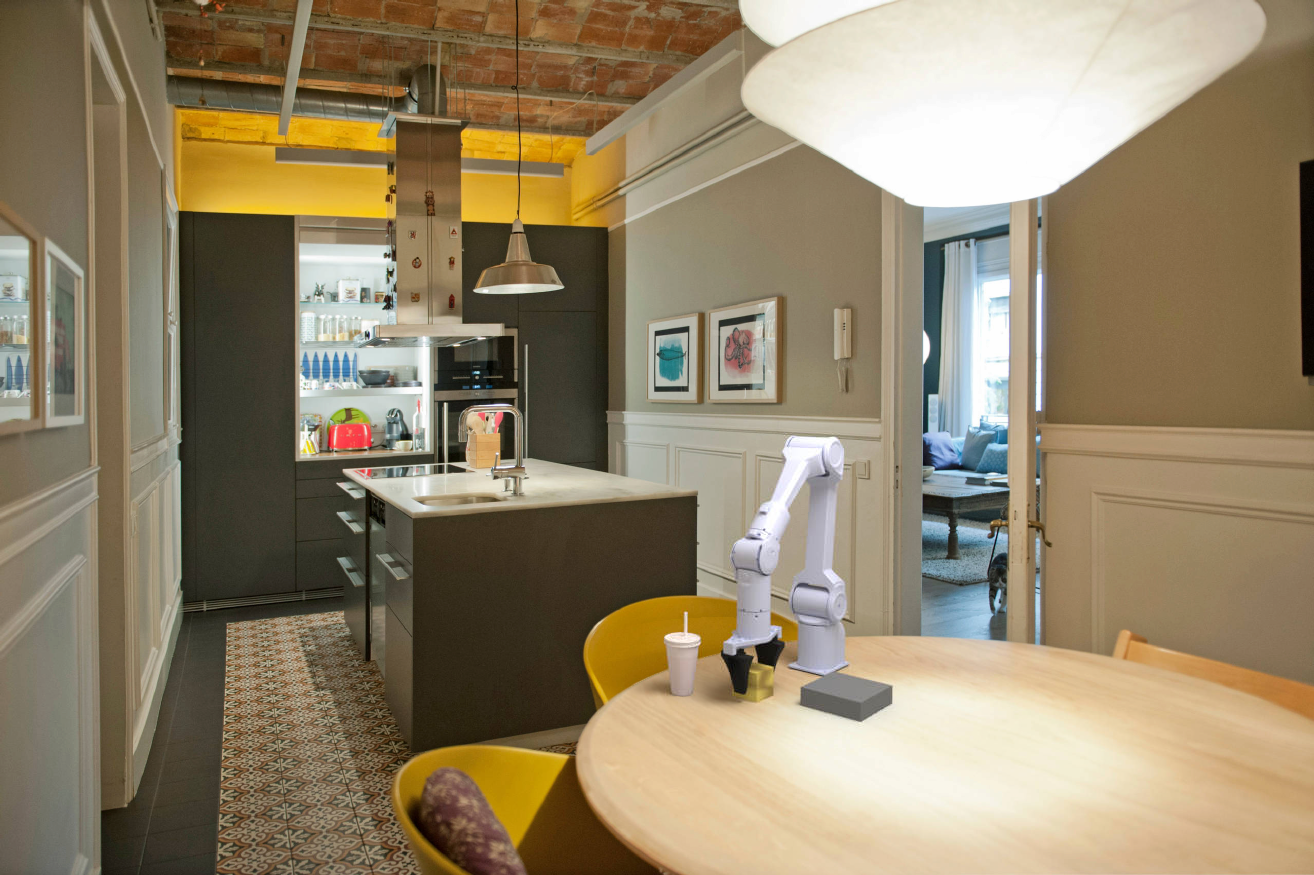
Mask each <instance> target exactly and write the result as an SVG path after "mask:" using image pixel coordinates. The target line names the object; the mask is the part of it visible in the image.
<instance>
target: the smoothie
mask: <svg viewBox="0 0 1314 875" xmlns="http://www.w3.org/2000/svg"><path fill="white" fill-rule="evenodd" d="M663 639H664V640H663V643H664V644H665V647H666V648H665V649H666V657H667V664H668V665H667V666H668V675H669V682H670V690H671V691H670V692H671V694H672V695H674V696H678V697H688V696H691V695H692V694H693V693H694V686H695V677H696V670H697V665H698V664H697V662H698V655H699V646H700V645H701V643H702V641H701V636H700V635H698V634H695V633H691V632H688V612H687V611H684V612H683V632H680V631H679V632H671V633H668V634H666V635H664V638H663Z"/></svg>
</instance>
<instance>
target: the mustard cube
mask: <svg viewBox="0 0 1314 875" xmlns="http://www.w3.org/2000/svg"><path fill="white" fill-rule="evenodd" d="M774 675H775V671H774V667H772V666H768V665H763V664H759V663H758V662H755V661H752V663H751V666H750V670H749V675H748V687H747V692H746V694H744V695H742V694H739V693H735V692H734V689H733V688H732V697H734V698H737V699H741V700H744V701H748V702H751V703H756V704H758V703H760V702H762V701H764V700H766V699H768V698H771V697H773V696H774V685H775V683H774V677H775V676H774Z"/></svg>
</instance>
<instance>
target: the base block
mask: <svg viewBox="0 0 1314 875" xmlns="http://www.w3.org/2000/svg"><path fill="white" fill-rule="evenodd" d="M799 698H800V704H799V705H800V706H802V707H805V708H808V709H812V710H817V711H819V712H823V713H827V714H831V715H835V716H837V717H842V718H845V719H847V720H848V719H849V720H851V721H856V722H858V723H859V722H860V723H862V722H863V721H865V720H867V719H868V718H870V717H872V716H873V714H874V715H875V714H878V713H879V712H881V711H882V710H884V709H886V708H888V707H889V706H891V705H892V704H893V685H892V684H888V683H883V682H880V681H875V680H872V679H871V680H870V679H868V678H867V679H866V678H862V677H859V676H855V675H850V674H846V673H841V672H838V671H834V672H831V673H829V674H827V675H822V676H821V677H819V678H816V679H814V680H812V681H810V682H809V683H806V684H804V685H802V686H800V697H799ZM885 707H886V708H885ZM880 710H881V711H880ZM878 711H879V712H878Z"/></svg>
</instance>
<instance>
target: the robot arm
mask: <svg viewBox="0 0 1314 875" xmlns="http://www.w3.org/2000/svg"><path fill="white" fill-rule="evenodd" d="M781 458H782V459H781V460H782V464H783V466H782V469H781V471H780V474H779V476H778V479H777V481H776V485H775V487H774V489H773V492H772V495H771V497H770V499H769V501H767V502H763V503H761V504H760V506H759V508H758V509H757V512H756V514H755V516H754V518H753V520H752V521H751V524H750V526H749V528H748V529H747V531H746V534H745V536H744V537H741V538H740V539H739V540H737V541H736V542H734V544H733V546H732V548H731V551H730V552H731V553H730V555H729V561H730V565H731V567H732V569H733V578H734V580H735V581H736V629H734V630H732V632H731V634H732V636H731V637H730V638H728V639H727V640H725V641H723V643H722V644H723V649H721V650H720V657H721V658H722V660H723V662H724V664H725V665H726V669H727V671H728V674H729V677H730V680H731V686H732V690H733V689H734V692H735V693H739V694H742V695H744V694H746V692H747V687H748V675H749V670H750V666H751V663H752V662H754V661H753V660H754V658H755V656H754V655H750V654H748V653H747V652H746V651H745V650H747V649H749V648H752V647H754V650H755V654H756V658H757V663H759V664H763V665H768V666H772V667H774V672H775V671H776V668H777V664H778V661H779V659H780V657H781V654H782V653H783V651H784V649H785V646H786V643H785V641H784V640H779V639H782V637H783V636H782V630H783V629H782V626H779V625H774V624H773V625H771V610H772V609H771V608H772V607H771V602H772V601H771V597H772V595H771V594H772V593H771V592H772V585H771V584H772V573H773V572H775V569H776V568H777V566H778V563H779V558H780V557H779V555H780V554H779V552H780V550H781V545H780V543H781V540H782V537H783V535H784V534H785V532H786V529H788V528H787V527H788V525H789V524H790V521H791V514H790V512H789V508H790V507H791V505H792V503H793V502H794V500H795V498H796V497H797V495H798V493H799V492H800V490H801V489H802V486H803V485H804V483H805V482H806V483H807V485H808V486H809V500H808V513H807V514H808V515H807V531H806V545H805V558H804V559H805V561H804V568H803V569H802V570H800V571H799V572H798V573H797V574H795V575H794V576H793V577H792V584H791V588H790V591H789V594H788V598H787V599H788V600H787V601H788V602H787V603H788V606H789V611H790V612H791V613H792V614H793V615H794V620H797V660H796V661H794V662H791V663H789V664H788V665H787V666H788V668H792V669H795V670H799V671H804V672H808V673H811V674H814V675H815V674H816V675H819V676H825V675H827V674H830V673H832V672H837V671H838V670H840V669H843V668H845V667H847V666H849V664H850V661H847V660H845V659H846V630H845V626H844V625H843V623H842V622H841V621H842V620H843V618H844V616H845V615H846V612H847V609H848V600H847V595H846V582H845V581H844V580H843V578H841V577H840V576H839V575H838V574H837V573H836V572H835V571H834V570H833V565H834V548H835V533H836V518H837V504H838V502H837V501H838V489H839V488H838V486H839V483H840V482H841V481H843V478H844V467H845V466H844V464H845V449H844V447H843V445H842V443H841V441H840V439H838V437H836V436H829V437H822V436H821V437H819V436H818V437H817V436H816V437H815V436H798V435H791V436H789V437H788V438H787V440H786V441H785V443H784V445H783V449H782V451H781Z"/></svg>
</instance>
